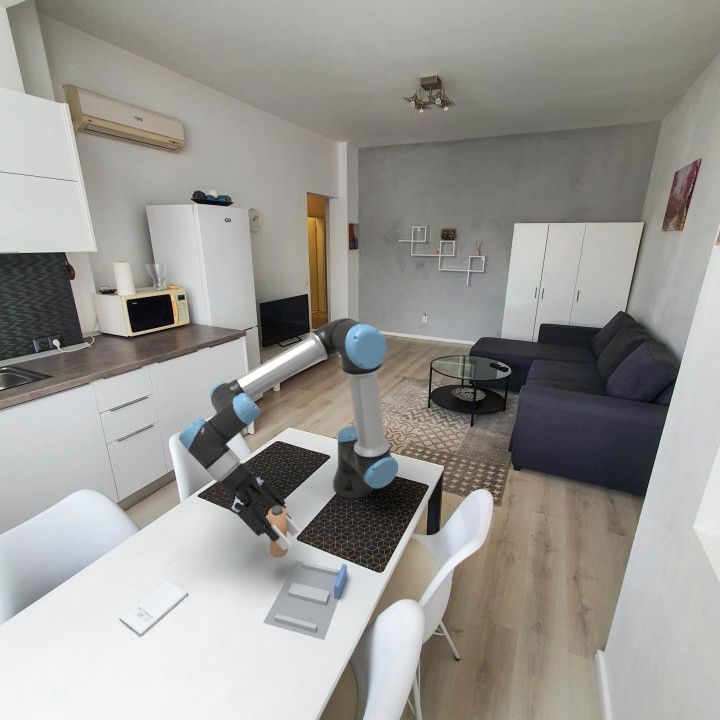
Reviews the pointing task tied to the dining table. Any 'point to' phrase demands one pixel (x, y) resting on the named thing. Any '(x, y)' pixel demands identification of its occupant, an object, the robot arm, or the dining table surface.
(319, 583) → the gray ribbed plate
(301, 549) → the dining table surface
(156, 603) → the external hard drive
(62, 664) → the dining table surface
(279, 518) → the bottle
